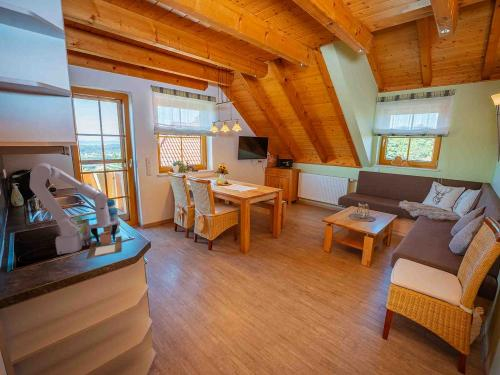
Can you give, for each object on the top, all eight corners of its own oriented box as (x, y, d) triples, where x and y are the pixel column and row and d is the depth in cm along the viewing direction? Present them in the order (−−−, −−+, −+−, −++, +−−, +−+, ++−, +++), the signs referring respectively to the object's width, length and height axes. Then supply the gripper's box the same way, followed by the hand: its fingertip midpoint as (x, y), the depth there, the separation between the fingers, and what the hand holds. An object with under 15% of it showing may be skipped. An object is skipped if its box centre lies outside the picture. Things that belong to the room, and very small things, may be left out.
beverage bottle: (121, 234, 138) (117, 200, 134) (104, 237, 133) (99, 203, 129) (119, 229, 145) (114, 197, 141) (102, 233, 140) (98, 200, 136)
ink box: (79, 243, 126) (75, 219, 124) (73, 243, 127) (69, 219, 124) (91, 238, 133) (87, 215, 130) (85, 237, 134) (81, 214, 131)
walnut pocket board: (86, 261, 107) (86, 259, 107) (92, 243, 126) (91, 241, 126) (121, 254, 113) (121, 251, 113) (121, 238, 132) (121, 235, 132)
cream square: (94, 256, 109) (94, 255, 109) (96, 248, 117) (96, 247, 117) (114, 252, 113) (114, 251, 113) (114, 244, 121) (114, 244, 121)
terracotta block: (101, 247, 121) (99, 236, 120) (102, 243, 127) (100, 232, 125) (111, 245, 123) (110, 234, 122) (112, 241, 129) (110, 230, 127)
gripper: (84, 220, 115) (88, 246, 118) (118, 215, 122) (122, 240, 124) (86, 216, 121) (90, 241, 124) (118, 211, 128) (122, 235, 130)
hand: (106, 240), depth 125 cm, fingers open, 6 cm apart
